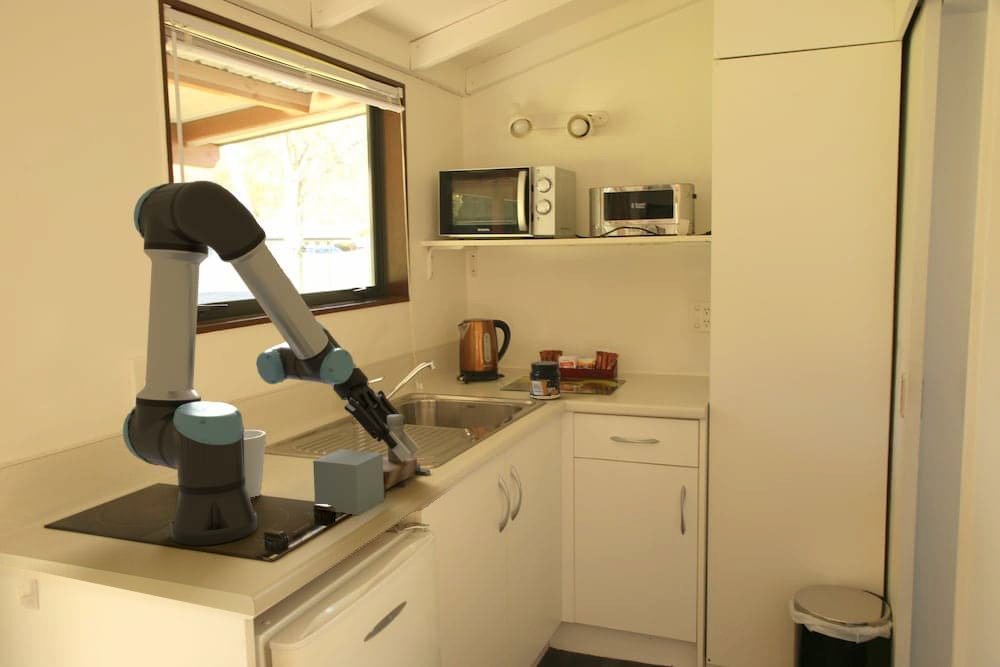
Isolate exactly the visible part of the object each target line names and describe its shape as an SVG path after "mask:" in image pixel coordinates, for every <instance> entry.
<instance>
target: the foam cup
mask: <svg viewBox="0 0 1000 667" xmlns="http://www.w3.org/2000/svg"><path fill="white" fill-rule="evenodd" d="M266 445H267V434H266V431H264V430H260V429H244V460H245V483H246V489H247V492H248V494H249V497H254V498H256V497H255V496H257V497H259V496H260V495H261V494H262V488H263V475H264V474H263V473H264V463H265V453H266Z"/></svg>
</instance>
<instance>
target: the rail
mask: <svg viewBox="0 0 1000 667" xmlns="http://www.w3.org/2000/svg"><path fill="white" fill-rule="evenodd" d="M429 472H430V473H431V470H430V469H427V468H421V463H419V462H417V469H415V470H414V476H415V474H416V475H419V474H425V475H424V476H427V475H428V474H427V473H429ZM430 473H429V474H430ZM426 474H427V475H426ZM414 476H413V475H412V477H414ZM412 477H411V476H410V477H408V478H406V479H404V480H402V481H400V482H399V483H397V484H395V485H393V486H391V487H389V488H387V489H384V499H386V495H387V493H385V492H386V491H388V490H389V489H391V488H393V487H399V488H400V487H401V488H406V487H407V486H410V481H409V480H408V479H410V478H412Z"/></svg>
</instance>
